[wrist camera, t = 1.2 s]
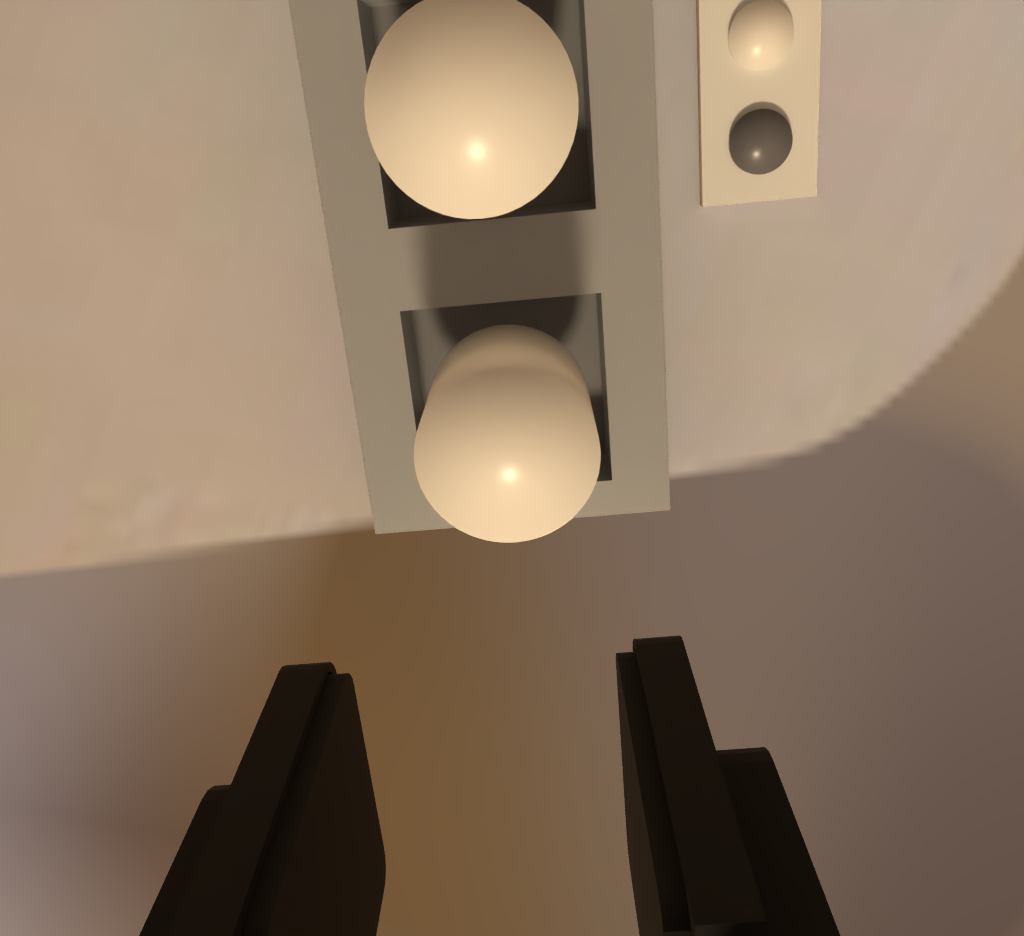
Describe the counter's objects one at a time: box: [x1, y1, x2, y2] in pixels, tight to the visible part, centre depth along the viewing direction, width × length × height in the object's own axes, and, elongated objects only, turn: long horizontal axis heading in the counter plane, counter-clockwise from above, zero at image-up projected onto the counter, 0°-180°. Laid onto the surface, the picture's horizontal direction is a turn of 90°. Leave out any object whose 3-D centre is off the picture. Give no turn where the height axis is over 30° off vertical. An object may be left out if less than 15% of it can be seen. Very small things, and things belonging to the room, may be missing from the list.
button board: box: [289, 0, 670, 534], centre depth 23 cm, size 21×8×3 cm, turn 5°
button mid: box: [364, 0, 578, 219], centre depth 19 cm, size 4×4×4 cm
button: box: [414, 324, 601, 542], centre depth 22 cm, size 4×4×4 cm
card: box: [697, 0, 821, 207], centre depth 23 cm, size 8×3×1 cm, turn 5°
